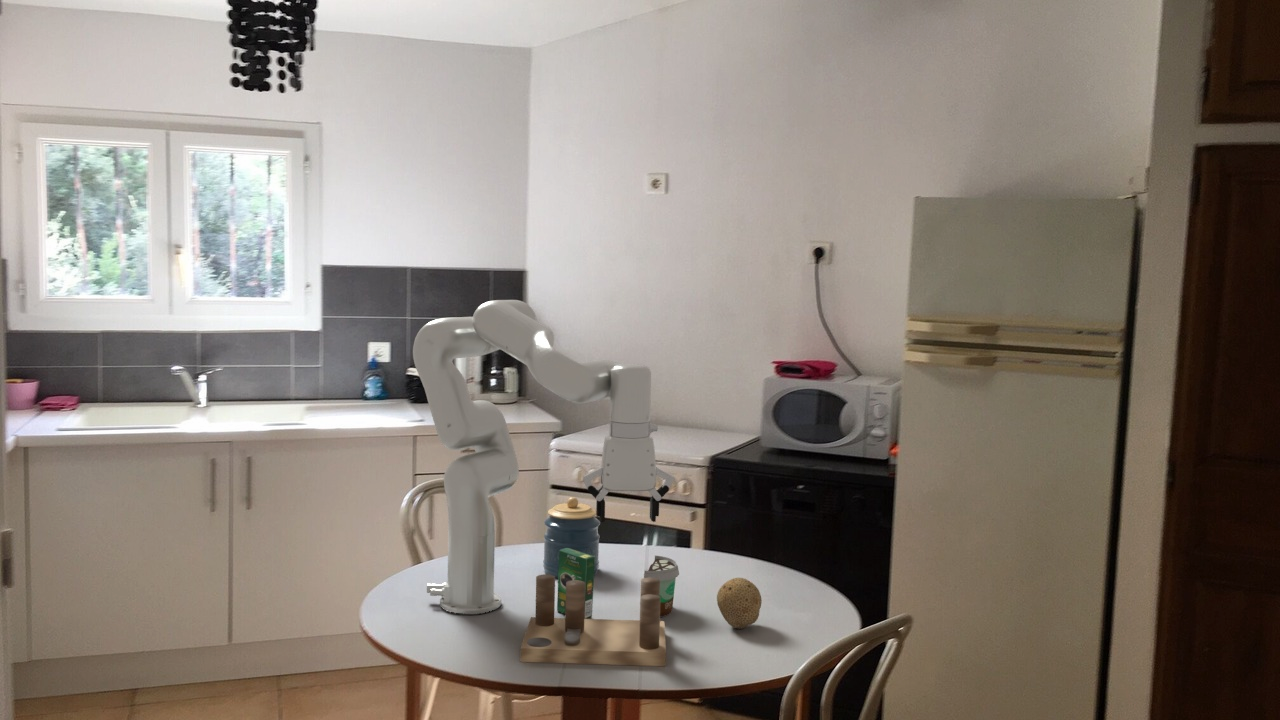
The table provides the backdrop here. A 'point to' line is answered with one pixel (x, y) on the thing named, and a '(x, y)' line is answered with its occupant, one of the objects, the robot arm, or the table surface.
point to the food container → (664, 581)
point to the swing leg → (574, 611)
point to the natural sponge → (739, 602)
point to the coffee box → (575, 577)
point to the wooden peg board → (596, 633)
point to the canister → (570, 533)
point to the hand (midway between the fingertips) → (627, 520)
